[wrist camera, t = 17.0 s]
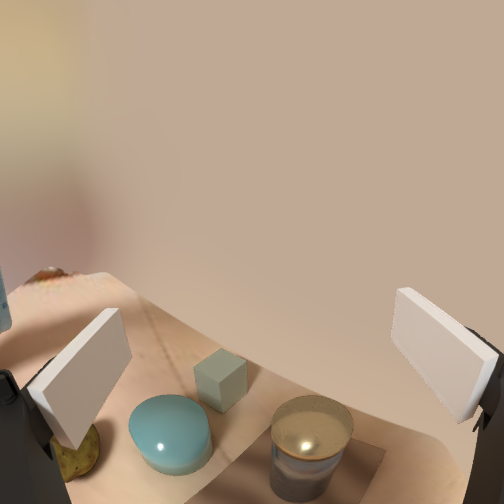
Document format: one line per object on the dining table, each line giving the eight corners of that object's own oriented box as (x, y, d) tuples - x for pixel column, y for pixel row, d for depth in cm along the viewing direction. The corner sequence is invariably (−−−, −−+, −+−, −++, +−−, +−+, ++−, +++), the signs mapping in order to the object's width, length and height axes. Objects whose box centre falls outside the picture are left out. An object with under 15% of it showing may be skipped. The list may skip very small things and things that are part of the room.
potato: (125, 460, 28) (104, 427, 25) (60, 505, 17) (26, 476, 15) (92, 427, 32) (72, 392, 29) (32, 465, 21) (3, 431, 19)
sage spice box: (222, 414, 38) (218, 382, 35) (199, 398, 41) (193, 367, 38) (247, 392, 42) (246, 360, 40) (224, 379, 45) (221, 348, 43)
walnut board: (304, 575, 13) (306, 574, 12) (186, 507, 22) (184, 503, 22) (382, 455, 28) (386, 450, 27) (283, 416, 37) (284, 410, 37)
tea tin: (311, 512, 20) (331, 467, 17) (256, 487, 24) (255, 433, 21) (340, 469, 26) (364, 409, 22) (289, 448, 30) (297, 386, 26)
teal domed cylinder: (174, 488, 25) (163, 468, 23) (127, 443, 30) (114, 418, 29) (228, 445, 32) (224, 421, 30) (178, 410, 38) (171, 384, 36)
